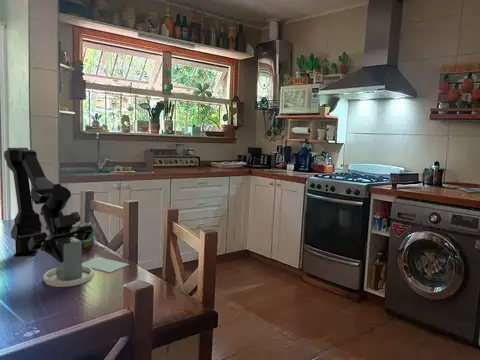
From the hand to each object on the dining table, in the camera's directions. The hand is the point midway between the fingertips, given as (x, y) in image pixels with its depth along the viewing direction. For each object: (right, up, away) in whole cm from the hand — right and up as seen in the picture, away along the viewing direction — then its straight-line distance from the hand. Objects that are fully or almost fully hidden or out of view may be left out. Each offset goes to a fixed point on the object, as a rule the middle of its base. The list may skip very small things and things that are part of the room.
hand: (71, 260), depth 120 cm
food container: (-8, -2, +33) cm, 34 cm away
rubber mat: (+6, -5, +14) cm, 16 cm away
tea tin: (-1, -6, +2) cm, 6 cm away
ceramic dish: (-1, -6, +2) cm, 7 cm away
